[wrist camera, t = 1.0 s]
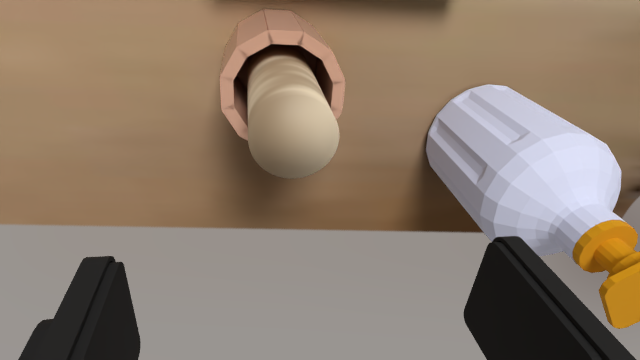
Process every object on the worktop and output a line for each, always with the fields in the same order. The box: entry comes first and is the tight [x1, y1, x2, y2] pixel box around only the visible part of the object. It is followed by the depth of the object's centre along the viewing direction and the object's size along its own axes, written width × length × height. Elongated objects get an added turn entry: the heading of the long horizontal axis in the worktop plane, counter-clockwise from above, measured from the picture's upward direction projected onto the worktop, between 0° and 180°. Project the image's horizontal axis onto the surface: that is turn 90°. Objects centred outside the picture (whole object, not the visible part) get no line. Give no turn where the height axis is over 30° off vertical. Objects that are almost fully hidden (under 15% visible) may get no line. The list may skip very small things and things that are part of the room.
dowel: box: [247, 44, 339, 179], centre depth 23 cm, size 4×4×12 cm
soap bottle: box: [426, 84, 640, 329], centre depth 24 cm, size 9×9×25 cm
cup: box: [220, 9, 346, 140], centre depth 25 cm, size 7×7×7 cm
